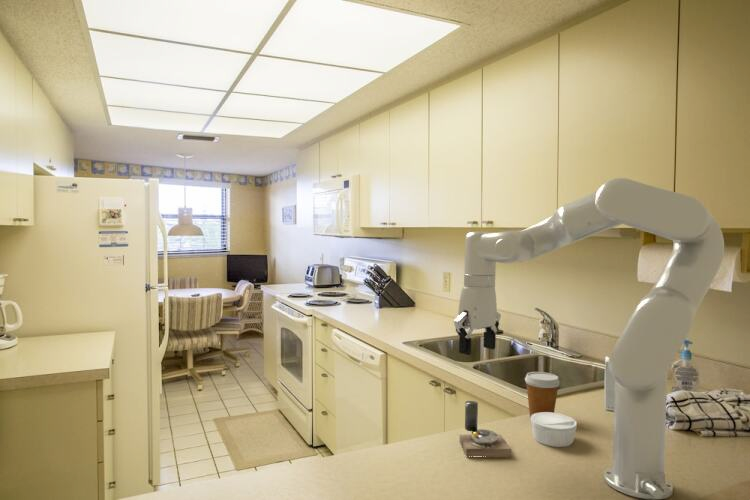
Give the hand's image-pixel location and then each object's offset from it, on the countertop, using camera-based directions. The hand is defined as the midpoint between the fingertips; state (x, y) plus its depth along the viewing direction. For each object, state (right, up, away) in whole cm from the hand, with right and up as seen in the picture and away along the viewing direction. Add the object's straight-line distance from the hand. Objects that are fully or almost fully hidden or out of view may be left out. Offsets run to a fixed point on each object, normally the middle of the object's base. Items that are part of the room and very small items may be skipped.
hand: (477, 350), depth 123 cm
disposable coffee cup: (+22, -23, +19) cm, 37 cm away
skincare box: (+47, -23, +28) cm, 60 cm away
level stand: (+1, -23, -3) cm, 23 cm away
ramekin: (+20, -24, +4) cm, 31 cm away
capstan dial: (0, -21, -2) cm, 21 cm away
